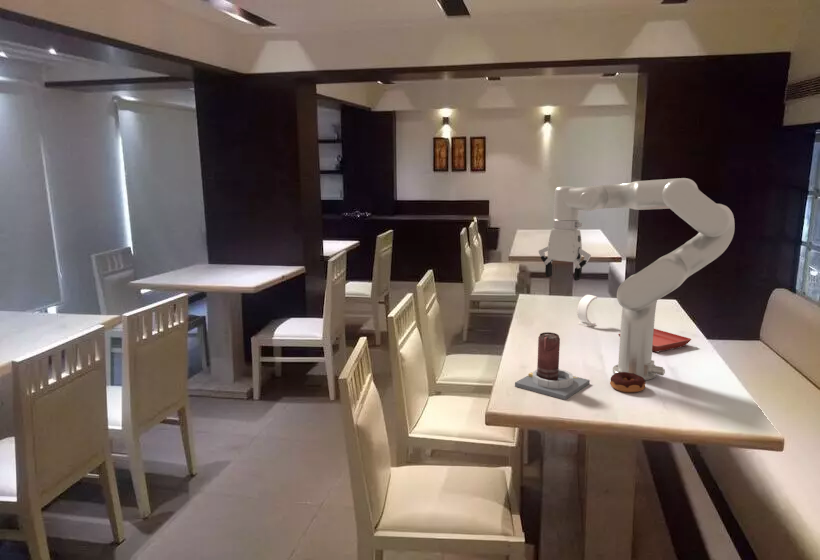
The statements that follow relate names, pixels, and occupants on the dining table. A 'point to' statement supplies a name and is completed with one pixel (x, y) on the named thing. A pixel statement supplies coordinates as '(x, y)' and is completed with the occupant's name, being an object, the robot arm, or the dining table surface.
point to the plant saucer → (667, 341)
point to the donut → (627, 382)
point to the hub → (553, 384)
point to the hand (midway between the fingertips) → (562, 278)
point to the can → (548, 356)
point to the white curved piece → (585, 310)
